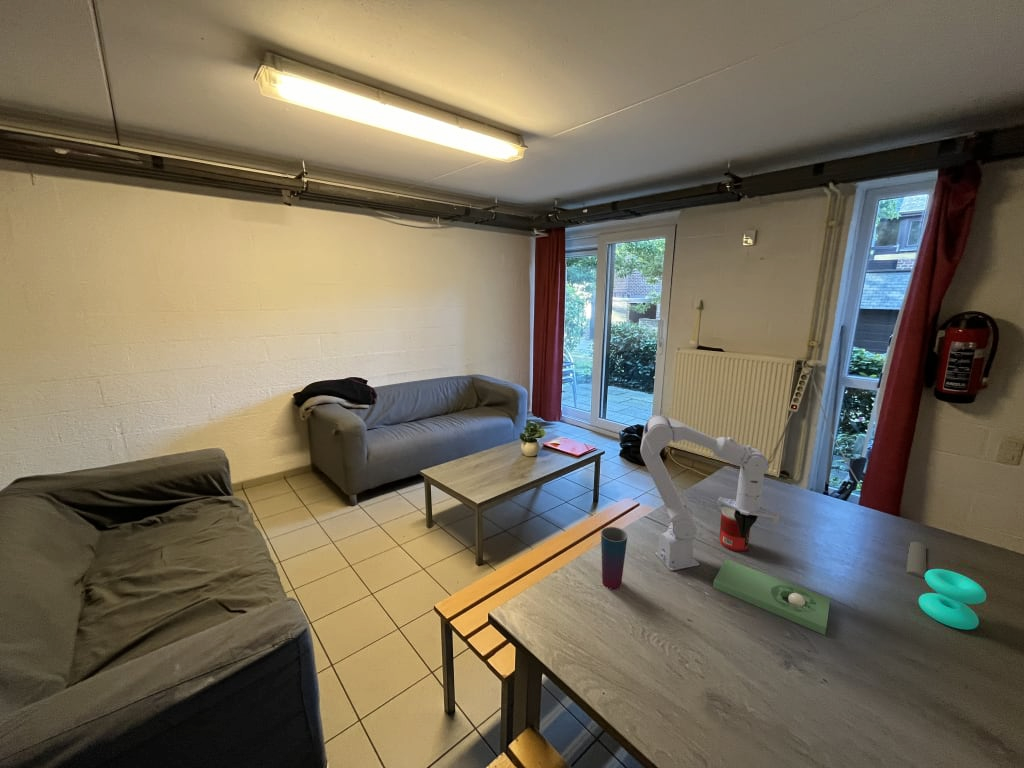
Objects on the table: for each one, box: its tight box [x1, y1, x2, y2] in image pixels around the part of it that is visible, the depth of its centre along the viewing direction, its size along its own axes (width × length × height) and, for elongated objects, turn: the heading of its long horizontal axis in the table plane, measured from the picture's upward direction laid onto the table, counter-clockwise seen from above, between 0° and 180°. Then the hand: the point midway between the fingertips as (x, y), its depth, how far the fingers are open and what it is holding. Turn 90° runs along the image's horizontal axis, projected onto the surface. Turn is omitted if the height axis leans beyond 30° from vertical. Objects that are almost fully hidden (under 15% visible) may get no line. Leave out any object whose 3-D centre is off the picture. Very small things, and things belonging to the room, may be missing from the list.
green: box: [712, 558, 831, 636], centre depth 105 cm, size 24×12×2 cm, turn 49°
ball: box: [787, 593, 805, 607], centre depth 101 cm, size 4×4×4 cm
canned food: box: [719, 506, 751, 552], centre depth 125 cm, size 8×8×11 cm
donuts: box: [918, 568, 987, 631], centre depth 97 cm, size 10×10×10 cm
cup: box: [600, 526, 628, 590], centre depth 109 cm, size 7×7×15 cm
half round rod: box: [905, 541, 927, 579], centre depth 118 cm, size 4×20×2 cm, turn 134°
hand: (743, 536), depth 113 cm, fingers closed
